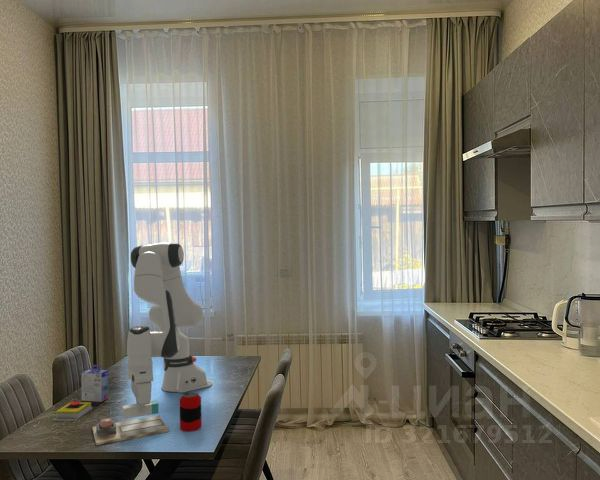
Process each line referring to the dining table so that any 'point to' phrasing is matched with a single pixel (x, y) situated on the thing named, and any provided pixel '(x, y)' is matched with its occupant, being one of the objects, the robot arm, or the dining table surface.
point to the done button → (105, 423)
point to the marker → (133, 410)
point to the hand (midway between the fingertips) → (140, 410)
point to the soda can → (190, 411)
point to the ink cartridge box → (95, 384)
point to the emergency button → (72, 411)
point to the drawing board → (129, 429)
